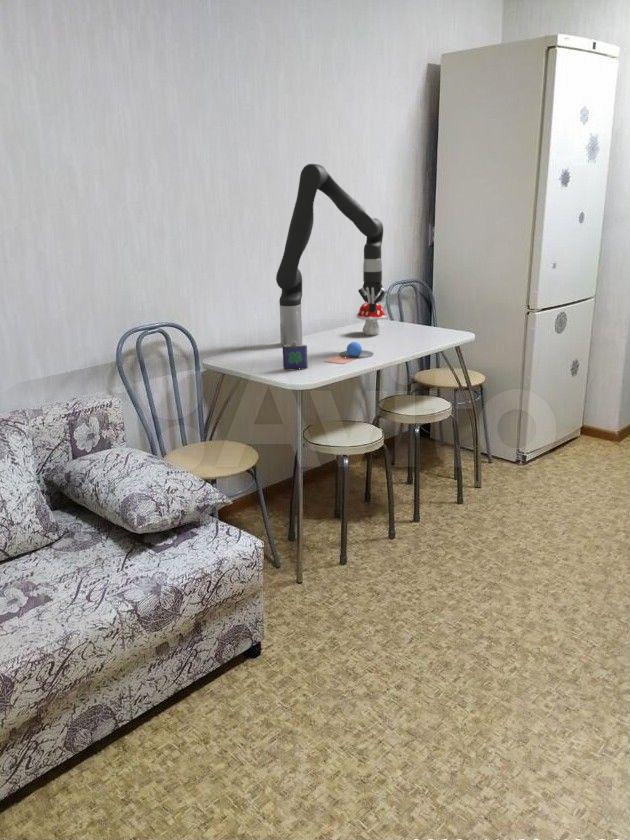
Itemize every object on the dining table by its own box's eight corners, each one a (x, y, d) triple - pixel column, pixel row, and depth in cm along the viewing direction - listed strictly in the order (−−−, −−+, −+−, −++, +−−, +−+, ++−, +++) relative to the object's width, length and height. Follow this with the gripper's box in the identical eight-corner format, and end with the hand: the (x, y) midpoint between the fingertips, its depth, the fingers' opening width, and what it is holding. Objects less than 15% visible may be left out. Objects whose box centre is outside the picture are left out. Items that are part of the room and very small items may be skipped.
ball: (346, 359, 281) (346, 344, 279) (346, 354, 286) (346, 340, 284) (362, 358, 281) (361, 344, 278) (361, 354, 286) (361, 339, 284)
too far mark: (336, 356, 284) (336, 356, 284) (355, 359, 279) (355, 358, 279) (324, 361, 277) (324, 361, 277) (343, 364, 272) (343, 363, 272)
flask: (307, 367, 269) (306, 339, 266) (308, 369, 267) (307, 341, 263) (283, 368, 269) (281, 340, 265) (283, 370, 266) (282, 342, 263)
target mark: (339, 358, 281) (339, 358, 281) (338, 351, 294) (338, 350, 294) (374, 357, 281) (374, 357, 281) (372, 350, 294) (372, 349, 294)
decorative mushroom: (387, 331, 332) (387, 298, 327) (385, 337, 319) (385, 303, 314) (357, 331, 334) (357, 299, 329) (354, 337, 321) (354, 303, 316)
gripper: (391, 269, 287) (391, 312, 292) (363, 268, 294) (363, 310, 299) (382, 271, 281) (382, 315, 286) (353, 270, 288) (354, 312, 294)
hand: (372, 312), depth 293 cm, fingers closed
